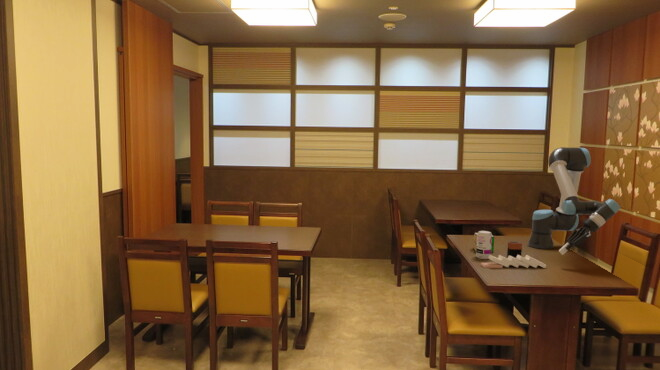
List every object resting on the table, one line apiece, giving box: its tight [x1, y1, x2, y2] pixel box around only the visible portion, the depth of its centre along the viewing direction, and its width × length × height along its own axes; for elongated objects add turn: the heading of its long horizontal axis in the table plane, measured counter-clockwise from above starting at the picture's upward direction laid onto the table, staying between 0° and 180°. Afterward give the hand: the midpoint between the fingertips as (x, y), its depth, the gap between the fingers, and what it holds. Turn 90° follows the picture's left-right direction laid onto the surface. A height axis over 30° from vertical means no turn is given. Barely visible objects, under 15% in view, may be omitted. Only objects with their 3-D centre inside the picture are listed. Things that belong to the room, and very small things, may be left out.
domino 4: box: [506, 255, 530, 269], centre depth 260 cm, size 2×5×10 cm
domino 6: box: [524, 254, 547, 269], centre depth 260 cm, size 2×5×10 cm
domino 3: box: [497, 254, 520, 269], centre depth 260 cm, size 2×5×10 cm
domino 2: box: [488, 254, 511, 268], centre depth 259 cm, size 2×5×10 cm
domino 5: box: [516, 255, 538, 269], centre depth 260 cm, size 2×5×10 cm
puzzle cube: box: [472, 232, 495, 254], centre depth 294 cm, size 10×10×10 cm
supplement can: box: [475, 230, 493, 260], centre depth 277 cm, size 8×8×15 cm
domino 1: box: [480, 262, 504, 269], centre depth 259 cm, size 2×5×10 cm
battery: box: [506, 240, 523, 258], centre depth 278 cm, size 4×7×10 cm, turn 89°
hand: (560, 252), depth 260 cm, fingers closed
